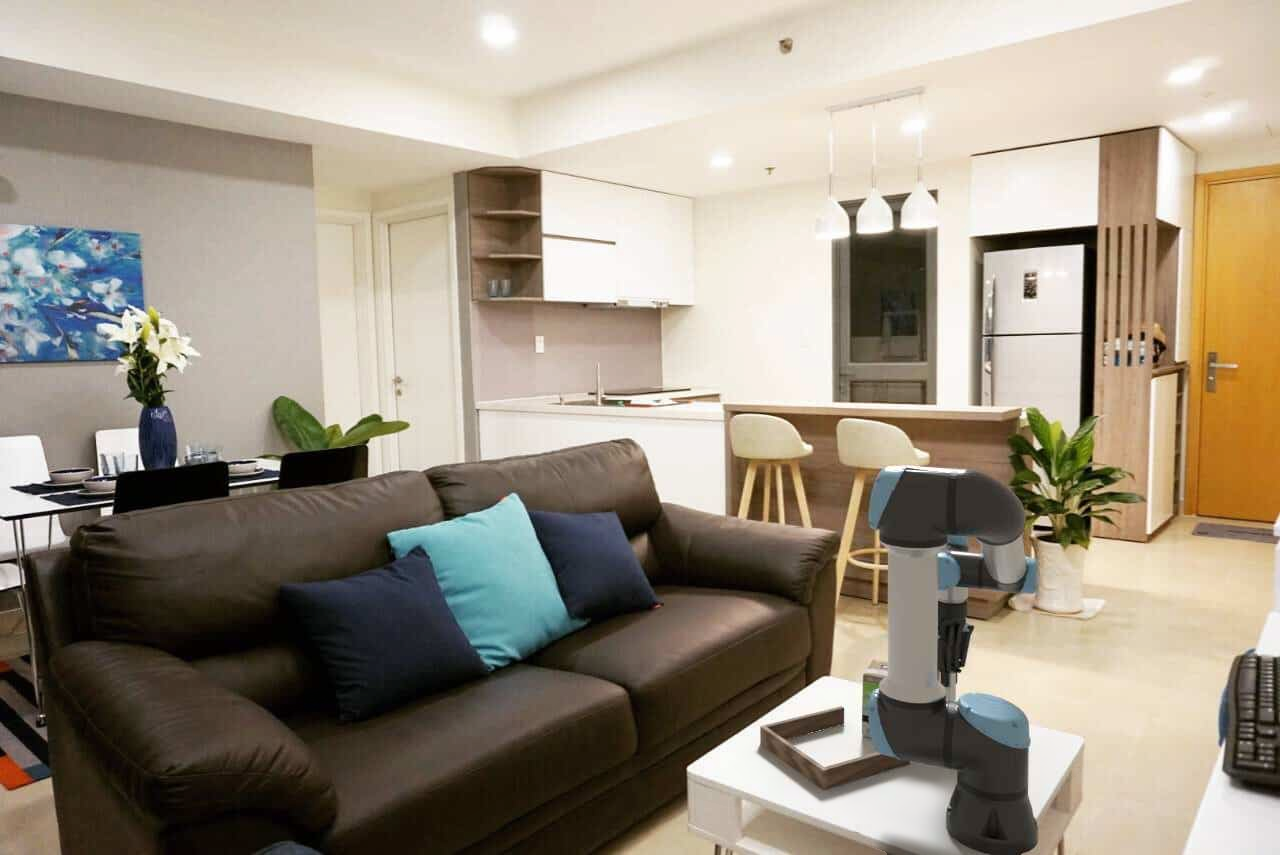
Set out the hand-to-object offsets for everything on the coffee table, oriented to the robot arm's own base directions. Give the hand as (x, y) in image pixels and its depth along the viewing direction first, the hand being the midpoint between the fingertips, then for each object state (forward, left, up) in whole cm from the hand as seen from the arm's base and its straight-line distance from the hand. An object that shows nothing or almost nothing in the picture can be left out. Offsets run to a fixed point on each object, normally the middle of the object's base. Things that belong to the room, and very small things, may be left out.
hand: (948, 698), depth 196 cm
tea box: (0, +14, -6) cm, 15 cm away
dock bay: (0, +33, -5) cm, 33 cm away
